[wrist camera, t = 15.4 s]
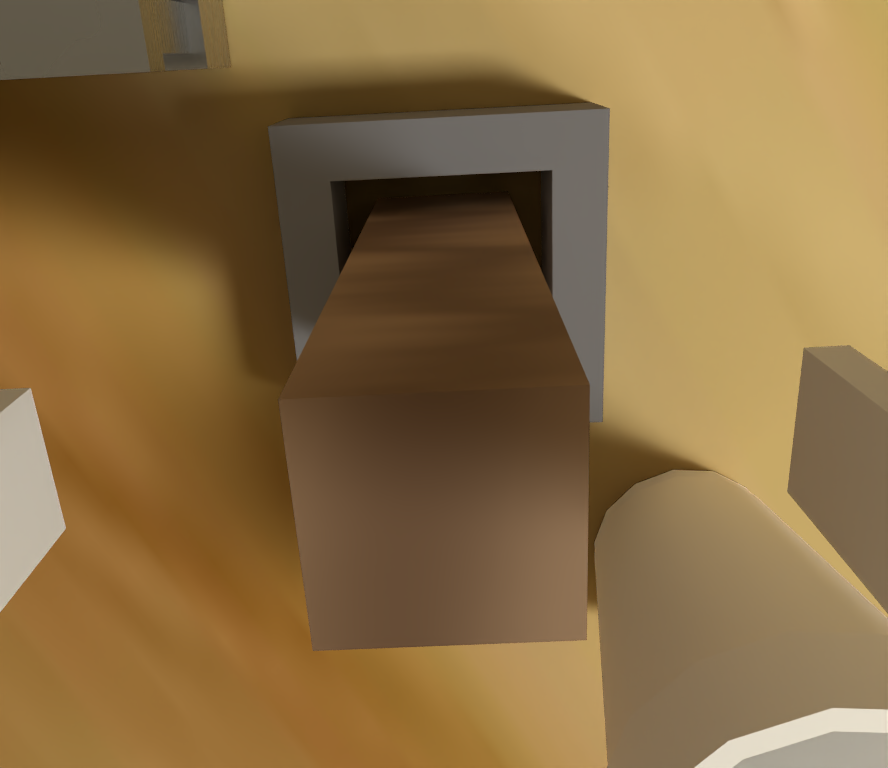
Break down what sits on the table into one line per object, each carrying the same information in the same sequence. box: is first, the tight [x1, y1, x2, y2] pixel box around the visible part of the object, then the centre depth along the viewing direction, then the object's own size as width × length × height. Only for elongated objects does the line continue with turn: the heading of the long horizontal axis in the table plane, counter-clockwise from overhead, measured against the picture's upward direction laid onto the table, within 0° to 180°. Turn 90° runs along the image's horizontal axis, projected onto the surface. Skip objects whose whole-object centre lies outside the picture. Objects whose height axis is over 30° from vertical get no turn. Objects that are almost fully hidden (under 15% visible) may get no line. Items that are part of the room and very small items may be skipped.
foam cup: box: [594, 470, 888, 768], centre depth 24 cm, size 10×9×13 cm
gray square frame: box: [268, 102, 610, 422], centre depth 25 cm, size 9×9×3 cm
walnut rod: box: [278, 191, 590, 651], centre depth 19 cm, size 4×4×16 cm
